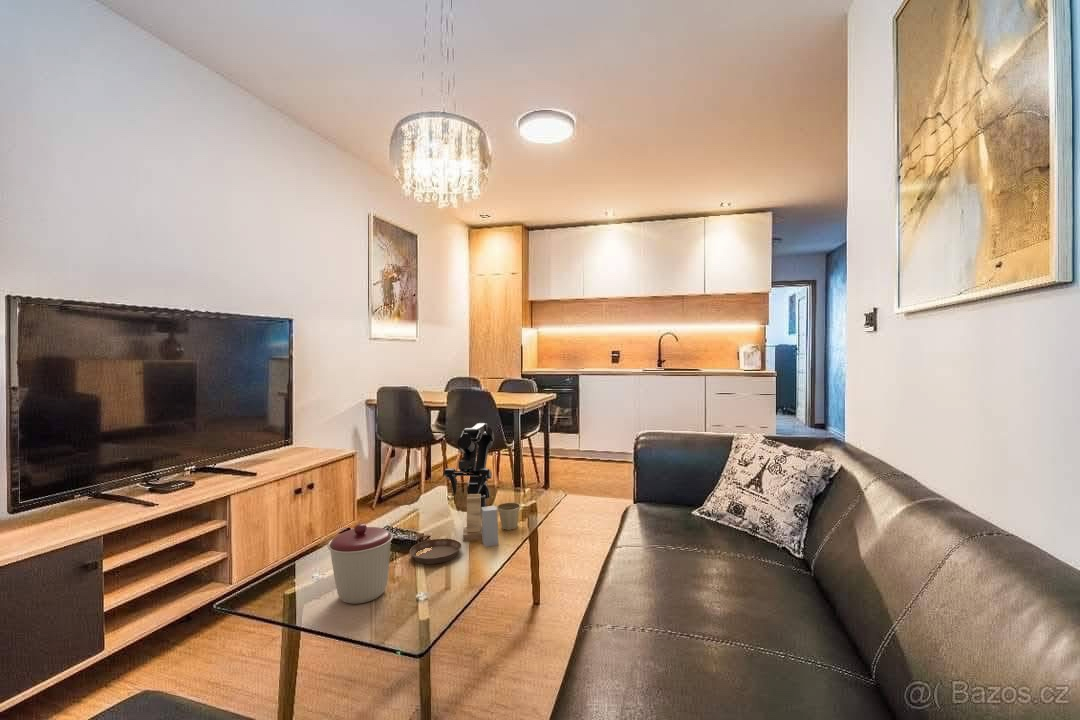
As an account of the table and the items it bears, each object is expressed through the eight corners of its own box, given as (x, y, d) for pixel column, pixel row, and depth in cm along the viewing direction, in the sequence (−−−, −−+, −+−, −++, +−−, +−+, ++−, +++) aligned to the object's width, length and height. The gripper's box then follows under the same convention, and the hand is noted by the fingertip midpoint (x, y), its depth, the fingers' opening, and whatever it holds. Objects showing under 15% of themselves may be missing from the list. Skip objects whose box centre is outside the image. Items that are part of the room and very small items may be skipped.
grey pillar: (482, 541, 183) (481, 507, 183) (495, 540, 184) (494, 505, 184) (484, 546, 178) (483, 511, 178) (498, 544, 179) (497, 509, 179)
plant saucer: (400, 556, 172) (400, 548, 172) (443, 542, 184) (443, 534, 184) (427, 572, 159) (427, 562, 159) (471, 555, 172) (471, 546, 172)
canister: (373, 575, 157) (370, 510, 157) (407, 591, 146) (404, 521, 146) (317, 598, 143) (314, 526, 143) (350, 618, 132) (347, 540, 132)
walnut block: (463, 535, 192) (463, 527, 192) (484, 533, 193) (484, 525, 193) (463, 542, 184) (462, 535, 184) (484, 541, 185) (484, 533, 185)
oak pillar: (468, 527, 191) (467, 494, 190) (480, 526, 191) (480, 493, 191) (466, 532, 186) (466, 498, 185) (480, 531, 186) (480, 498, 186)
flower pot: (510, 533, 190) (510, 511, 190) (492, 528, 196) (492, 507, 196) (526, 526, 198) (525, 504, 198) (508, 521, 204) (507, 501, 203)
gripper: (442, 450, 198) (437, 489, 191) (488, 450, 197) (484, 489, 189) (449, 459, 208) (445, 496, 201) (493, 459, 206) (490, 496, 199)
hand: (465, 494), depth 197 cm, fingers open, 9 cm apart
